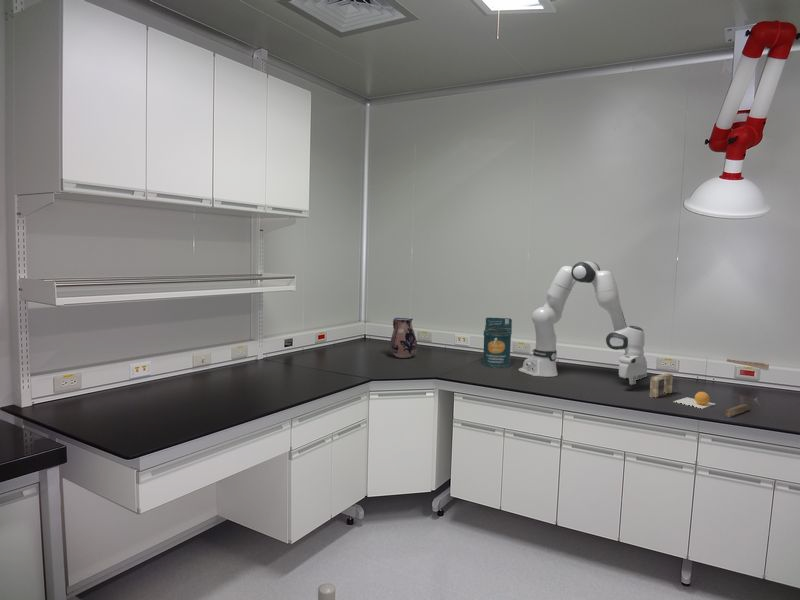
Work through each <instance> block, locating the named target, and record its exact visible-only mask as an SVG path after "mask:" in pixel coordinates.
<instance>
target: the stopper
mask: <svg viewBox="0 0 800 600" xmlns="http://www.w3.org/2000/svg"><path fill="white" fill-rule="evenodd" d="M747 411H749V404H746V403H741V404H739V405H737V406H734V407H730V408H728V409H725V410H724V414H723V415H724V417H727V418H731V417H734V416H737V415H739V414H742V413H745V412H747Z"/></svg>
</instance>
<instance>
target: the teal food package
mask: <svg viewBox="0 0 800 600" xmlns="http://www.w3.org/2000/svg"><path fill="white" fill-rule="evenodd" d="M512 328H513V319H511V318H507V317H486V318H485V325H484V329H483V355H482V356H483V358H482V366H483V365H484V366H483V367H487V368H493V367H496V369H505V368H504V367H506V368H511V361H512V360H511V349H512V348H511V347H512V345H511V341H512V333H513V332H512Z"/></svg>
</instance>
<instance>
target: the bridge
mask: <svg viewBox="0 0 800 600" xmlns="http://www.w3.org/2000/svg"><path fill="white" fill-rule="evenodd" d="M673 379H674V374H672V373H667V372H666V373H662V374H658V375H653V376H650V382H649V383H650V384H649V397H650V398H653V397H655V398H654V399H657V397H658V398H659V383H660V382H659V381H661V380H664V384H663V393H664V392H665V393H664V394H667V393H669V394H668V395H671V394H670V393H672V394H673V381H674V380H673Z"/></svg>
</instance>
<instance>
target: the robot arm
mask: <svg viewBox="0 0 800 600" xmlns="http://www.w3.org/2000/svg"><path fill="white" fill-rule="evenodd" d="M553 278H554V279H552V282H551V284H550V286H549V287H548V290H547V292H546V298H545V302H544V304H543V306H540V307H537V308H536V309H535V310H534V311H532V312H533V313H532V315H531V320H532V323H533V324H534V330H535V348H534V349H532V350H531V352H532V355H531V356H529V357H528V358H526V359H524V361H523V364H522V367H520V368H518V371H519V372H521V373H524V374H527V375H529V376H532V377H547V378H548V377H557V376H558V370H557V369H558V368H557V353H558V352H557V335H556V333H555V324H558V322H559V321H560V320H561V318H562V315H563V310H564V307H565V305H566V302H567V300H568V298H569V295H570V294H571V292H572V289H573V288H574V285H575V284H576V283H577V282H578V283H585V284H586V283H589V284H591V285H592V286H593V289H594V294H595V297H596V300H597V303H598V305H599V306H600V308H602V309H604V310H606V311H607V312H608V314H609V316H610V319H611V322H612V327H613V331H612V332H609V333H608V334H607V335H606V337H605V343H606V345H607V347H608V348H610V349H612V350H614V351H615V350H616V351H617V350H624V353H623V355H621V356H620V357H619V359H618V362H619V365H618V376H619V378H623V379H626V378H629V379H628V381H629V385H631V386H632V385H633V386H634V385H636V384H637V381H636V380H637V378H638V375H642V374H646V372H648V362H647V360H646V357H645V352H644V346H645V340H646V339H645V338H646V337H645V331H644V329H643V328H642V327H639V326H636V325H628V326H627V323H626V319H625V317H624V312H623V310H622V305H621V301H620V300H621V299H620V296H619V290H618V286H617V283H616V280H615V277H614V275H613V273H612V272H611V271H610V270H601V268H600V266H599V264H597V263H596V262H595V261H590V260H589V261H587V260H585V261H579V262H577V263H575V264H574V265H572V266H570V265H564V266H562V267H561V268H560V269H559V270H558V272H557V273H556V275H555V276H554V277H553Z"/></svg>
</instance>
